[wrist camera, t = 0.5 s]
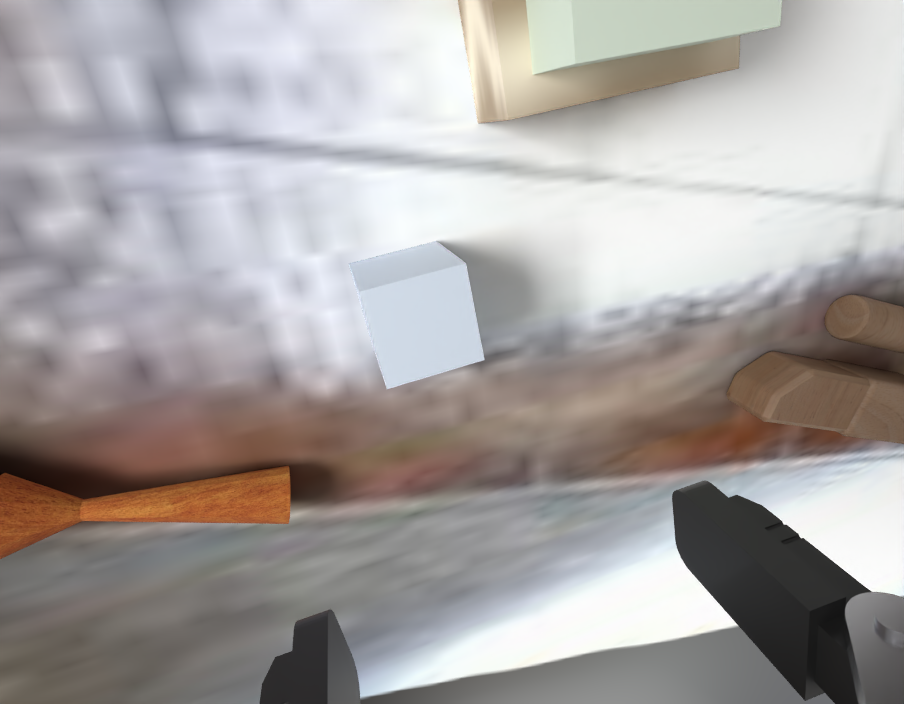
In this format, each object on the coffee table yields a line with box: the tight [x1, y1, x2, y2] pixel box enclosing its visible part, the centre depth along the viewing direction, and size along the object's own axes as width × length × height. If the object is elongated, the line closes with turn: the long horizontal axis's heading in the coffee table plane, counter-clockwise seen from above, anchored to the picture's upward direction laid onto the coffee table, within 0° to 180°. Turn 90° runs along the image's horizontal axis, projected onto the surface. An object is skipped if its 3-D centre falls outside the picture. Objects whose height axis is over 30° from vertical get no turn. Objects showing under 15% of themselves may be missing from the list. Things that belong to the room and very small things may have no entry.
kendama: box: [0, 466, 290, 559], centre depth 28 cm, size 6×6×20 cm
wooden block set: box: [726, 295, 904, 444], centre depth 37 cm, size 17×6×18 cm
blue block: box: [349, 241, 484, 389], centre depth 27 cm, size 5×5×6 cm
